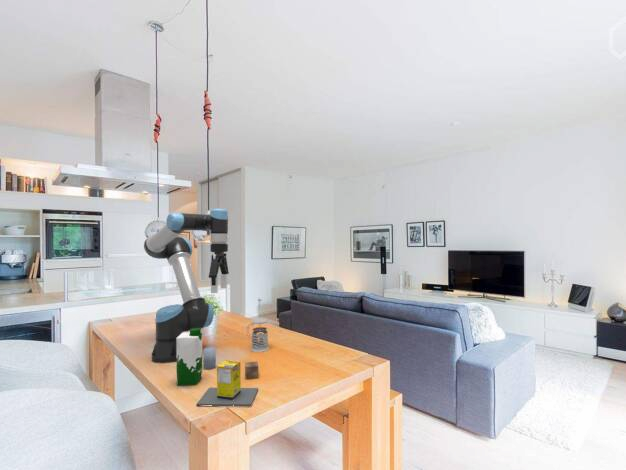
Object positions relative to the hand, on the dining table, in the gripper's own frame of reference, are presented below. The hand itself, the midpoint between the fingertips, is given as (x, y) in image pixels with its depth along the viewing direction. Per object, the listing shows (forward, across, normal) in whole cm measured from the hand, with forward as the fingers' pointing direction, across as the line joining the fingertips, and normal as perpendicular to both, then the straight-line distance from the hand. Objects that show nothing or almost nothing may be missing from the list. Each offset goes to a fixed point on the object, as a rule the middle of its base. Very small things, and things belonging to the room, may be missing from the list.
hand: (219, 290), depth 149 cm
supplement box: (+31, -34, -14) cm, 48 cm away
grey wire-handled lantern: (+32, +18, -14) cm, 39 cm away
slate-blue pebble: (+32, -7, +2) cm, 33 cm away
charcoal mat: (+32, -34, -14) cm, 49 cm away
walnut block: (+32, -16, -18) cm, 40 cm away
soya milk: (+32, -21, +5) cm, 39 cm away
